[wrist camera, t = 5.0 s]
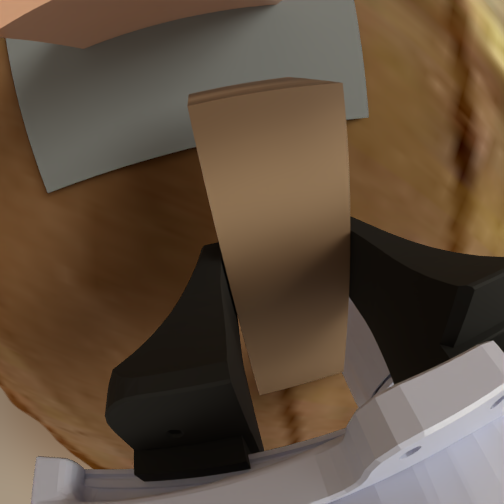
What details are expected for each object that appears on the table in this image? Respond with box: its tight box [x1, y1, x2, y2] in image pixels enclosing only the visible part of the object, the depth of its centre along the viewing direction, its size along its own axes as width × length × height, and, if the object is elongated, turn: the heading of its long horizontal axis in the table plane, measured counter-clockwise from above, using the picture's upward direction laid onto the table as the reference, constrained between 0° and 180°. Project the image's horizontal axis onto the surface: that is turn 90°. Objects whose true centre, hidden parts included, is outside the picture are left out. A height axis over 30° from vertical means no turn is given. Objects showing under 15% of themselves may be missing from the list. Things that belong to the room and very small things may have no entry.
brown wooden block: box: [187, 77, 350, 395], centre depth 13 cm, size 12×4×5 cm, turn 9°
